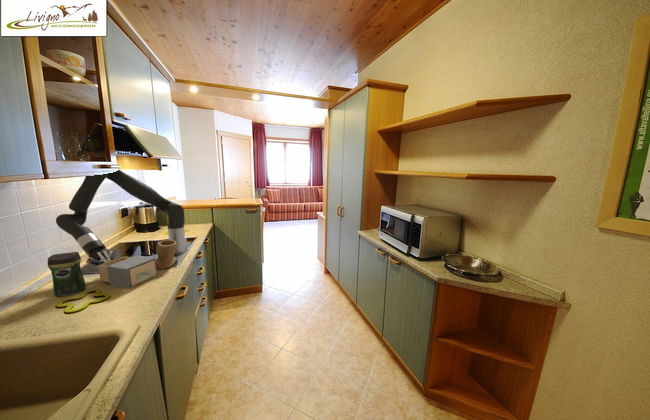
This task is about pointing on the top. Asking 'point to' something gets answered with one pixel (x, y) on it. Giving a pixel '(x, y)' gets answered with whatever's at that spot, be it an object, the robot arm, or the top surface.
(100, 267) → the tray
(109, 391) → the top surface
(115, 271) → the sleeve
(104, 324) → the top surface
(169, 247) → the stone cup
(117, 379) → the top surface
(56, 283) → the coffee jar
